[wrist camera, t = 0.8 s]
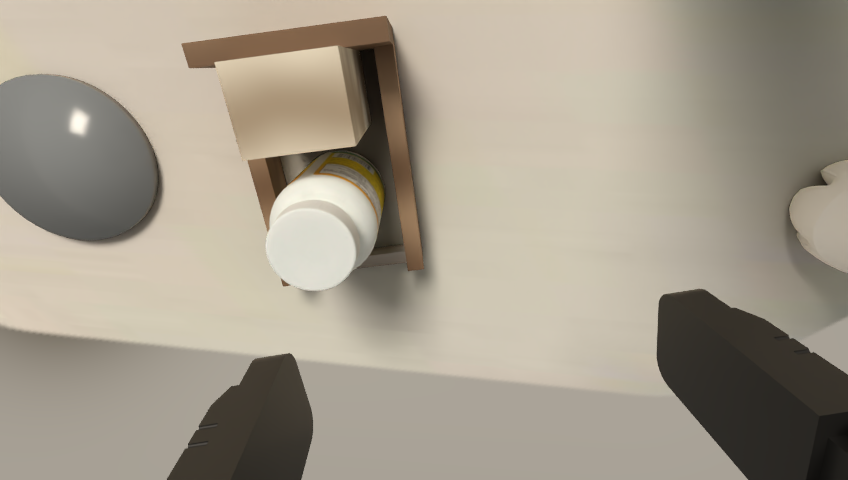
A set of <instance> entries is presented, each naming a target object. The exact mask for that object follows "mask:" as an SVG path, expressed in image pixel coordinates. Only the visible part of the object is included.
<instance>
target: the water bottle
mask: <svg viewBox="0 0 848 480" xmlns="http://www.w3.org/2000/svg"><path fill="white" fill-rule="evenodd" d="M820 172H821V174H822V177H823V179H824V180H825V182H826V183H827V184H828V185H827V186H811V187H806V188H803V189H800V190H799V192H798V193H796V195H795V196H794V197H793V199H792V201H791V204H790V207H789V212H790V219H791V221H792V224H793V225H794V227H795V229H796V230H797V231H798V232H797V237H798V239H799V241H800V242H801V244H802V246H803V247H804V249H805V250H807V251H808V252H809V253H810V254H812V255H813V256H814V257H816V258H817V259H819V260H820V261H822V262H824V263H825V264H827V265H829V266H831V267H833V268H835V269H837V270H840V271H842V272H845V273H848V160H844V161H840V162H836V163H833V164H830V165H828V166H827V167H825V168H824V169H823V170H821V171H820Z"/></svg>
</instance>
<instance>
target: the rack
mask: <svg viewBox="0 0 848 480" xmlns="http://www.w3.org/2000/svg"><path fill="white" fill-rule="evenodd" d="M182 47H183V50H184V54H185V57H186V60H187V63H188V66H189V68H216V70H217V73H218V77H219V80H220V84H221V87H222V91H223V94H224V98H225V101H226V105H227V108H228V112H229V115H230V119H231V122H232V126H233V129H234V133H235V136H236V140H237V143H238V147H239V150H240V154H241V157H242V160H243V161H245V160H248V164H249V167H250V171H251V175H252V178H253V182H254V185H255V189H256V192H257V196H258V199H259V203H260V206H261V210H262V213H263V217H264V221H265V224H266V228H267V231H269V229H270V227H269V221H270V214H271V210H272V207H273V204H274V202H275V200H276V199H277V197H278V196H279V194H280V193H281V192H282V191H283V190H284V189H285V188H286V187H287V185H286V181H285V177H284V173H283V169H282V165H281V161H280V157H279V156H284V155H291V154H299V153H307V152H314V151H322V150H330V149H337V148H345V147H353V146H356V145H357V144H358V142H359V141H360V139H361V138H362V136H363V135H364V133H365V132H366V130H367V129H368V127H369V126H370V124H371V123H372V122H371V116H370V110H369V104H368V98H367V92H366V86H365V79H364V73H363V67H362V61H361V55H360V51H362V50H369V49H374V53H375V59H376V66H377V72H378V79H379V85H380V92H381V98H382V105H383V111H384V118H385V124H386V131H387V137H388V144H389V150H390V157H391V163H392V170H393V176H394V183H395V189H396V196H397V202H398V209H399V216H400V222H401V229H402V235H403V242H404V244H402V245H394V246H386V247H378V248H373V250H372V252H371V253H370V255H369V256H368V258H367V259H366V260H365V261H364V262H363V263H362V264H361V265H360V266H359V267H357V268H365V267H373V266H381V265H389V264H397V263H405V262H407V268H408V271H412V270H420V269H424V265H423V251H422V244H421V237H420V229H419V222H418V215H417V207H416V200H415V193H414V185H413V178H412V171H411V163H410V156H409V149H408V141H407V134H406V127H405V119H404V112H403V105H402V97H401V90H400V83H399V75H398V68H397V61H396V53H395V46H394V39H393V31H392V26H391V24H390V22H389V20H388V18H387V16H381V17H374V18H367V19H359V20H352V21H345V22H337V23H330V24H322V25H315V26H308V27H300V28H293V29H286V30H278V31H271V32H263V33H256V34H249V35H241V36H234V37H227V38H219V39H212V40H205V41H197V42H190V43H182ZM357 268H356V269H357ZM281 281H282V284H283V286H290V284H288V283H286V282H285V281H284V280H282V279H281Z"/></svg>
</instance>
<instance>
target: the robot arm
mask: <svg viewBox="0 0 848 480" xmlns="http://www.w3.org/2000/svg"><path fill="white" fill-rule="evenodd" d="M657 362H658V366H659V370H660V372H661V375H662V377H663V379H664V381H665V382H666V384H667V385H668V386H669V388H670V389H671V390H672V391H673V392H674V393H675V395H676V396H677V397H678V398H679V399H680V400H681V401H682V403H683V404H684V405H685V406H686V407H687V409H688V410H689V411H690V412H691V413H692V414H693V416H694V417H695V418H696V419H697V420H698V421H699V423H700V424H701V425H702V426H703V427H704V428H705V430H706V431H707V432H708V433H709V434H710V436H712V438H713V439H714V440H715V441H716V442H717V444H718V445H719V446H720V447H721V448H722V450H723V451H724V452H725V453H726V454H727V455H728V456H729V458H730V459H731V460H732V461H733V462H734V464H735V465H736V466H737V467H738V468H739V469H740V471H741V472H742V473H743V474H744V475H745V476H746V478H747V479H748V480H848V375H847V374H846V373H844V372H843V371H841V370H840V369H838V368H837V367H835V366H834V365H832V364H830V363H829V362H828V361H826V360H825V359H823V358H822V357H820V356H819V355H817V354H816V353H814V352H813V353H810V351H809V349H808V348H807V347H805V346H804V345H802V344H801V343H799V342H798V341H796V340H795V339H790V338H789V336H788V335H787V334H786V333H784V332H783V331H781V330H780V329H778V328H777V327H775V326H774V325H772V324H771V323H769V322H768V321H766V320H765V319H763V318H760V317H757V316H755V315H752V314H750V313H747V312H745V311H742V310H739V309H737V308H730V307H729V306H728V305H726V304H725V303H723V302H722V301H720V300H719V299H718V298H716V297H715V296H713V295H712V294H710V293H709V292H708V291H706V290H703V289H695V290H689V291H683V292H677V293H670V294H665V295H663V296H662V297H661V298H660V301H659V308H658V334H657ZM312 435H313V417H312V411H311V407H310V404H309V401H308V398H307V394H306V392H305V389H304V385H303V382H302V379H301V376H300V372H299V369H298V366H297V363H296V360H295V358H294V357H293V355H292V354H290V353H288V354H282V355H275V356H269V357H263V358H257V359H255V360H253V361H252V363H251V364H250V366H249V368H248V370H247V372H246V374H245V375H244V377H243V379H242V381H241V383H240V385H237V386H231V387H230V388H229V389H228V390H227V391H226V392H225V393H224V394H223V395H222V396H221V397H220V398H218V399H217V400H216V401H215V402H214V403H213V404H212V405H211V407H210V408H209V410H208V412H207V413H206V415H205V417H204V418H203V420H202V422H201V423H200V425H199V430H196V432H195V433H194V435H193V437H192V438H191V440H190V442H189V443H188V448H187V449H185V450H184V452H183V454H182V455H181V457H180V458H179V460H178V462H177V463H176V465H175V467H174V468H173V470H172V472H171V473H170V475H169V477H168V478H167V480H301V478H302V474H303V471H304V467H305V463H306V459H307V455H308V452H309V448H310V444H311V440H312Z"/></svg>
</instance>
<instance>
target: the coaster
mask: <svg viewBox="0 0 848 480" xmlns="http://www.w3.org/2000/svg"><path fill="white" fill-rule="evenodd" d="M157 189H158V168H157V162H156V158H155V155H154V152H153V149H152V147H151V145H150V142H149V140H148V138H147V137H146V135H145V133H144V131H143V130H142V128H141V127H140V126H139V124H138V123H137V121H136V120H135V119H134V118H133V117H132V116H131V114H130V113H129V112H128V111H127V110H126V109H125V108H124V107H123V106H122V105H120V104H119V103H118V102H117V101H116V100H114V99H113V98H112V97H110V96H109V95H108V94H106V93H105V92H103V91H101V90H99V89H98V88H96V87H94V86H92V85H90V84H88V83H85V82H83V81H80V80H77V79H74V78H71V77H66V76H61V75H51V74H38V75H25V76H21V77H16V78H13V79H11V80H8V81H6V82H4V83H2V84H1V85H0V196H1V197H2V198H3V199H4V200H5V201H6V202H7V204H9V205H10V206H11V207H12V208H13V209H14V210H15V211H16V212H17V213H19V214H20V215H21V216H23V217H24V218H25V219H27V220H28V221H30V222H32V223H33V224H35V225H37V226H39V227H41V228H43V229H45V230H47V231H49V232H52V233H54V234H57V235H60V236H64V237H67V238H72V239H78V240H102V239H107V238H111V237H114V236H117V235H120V234H121V233H123V232H125V231H127V230H129V229H131V228H132V227H134V226H135V225H136V224H138V223H139V222H140V221H141V220H142V219H143V218H144V217H145V216H146V215H147V213H148V212H149V211H150V209H151V207H152V205H153V203H154V201H155V198H156V194H157Z"/></svg>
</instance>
